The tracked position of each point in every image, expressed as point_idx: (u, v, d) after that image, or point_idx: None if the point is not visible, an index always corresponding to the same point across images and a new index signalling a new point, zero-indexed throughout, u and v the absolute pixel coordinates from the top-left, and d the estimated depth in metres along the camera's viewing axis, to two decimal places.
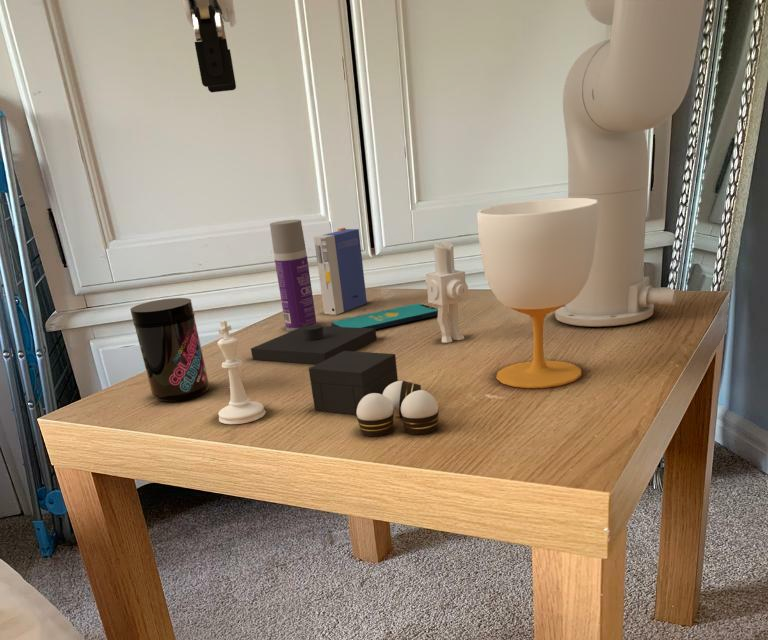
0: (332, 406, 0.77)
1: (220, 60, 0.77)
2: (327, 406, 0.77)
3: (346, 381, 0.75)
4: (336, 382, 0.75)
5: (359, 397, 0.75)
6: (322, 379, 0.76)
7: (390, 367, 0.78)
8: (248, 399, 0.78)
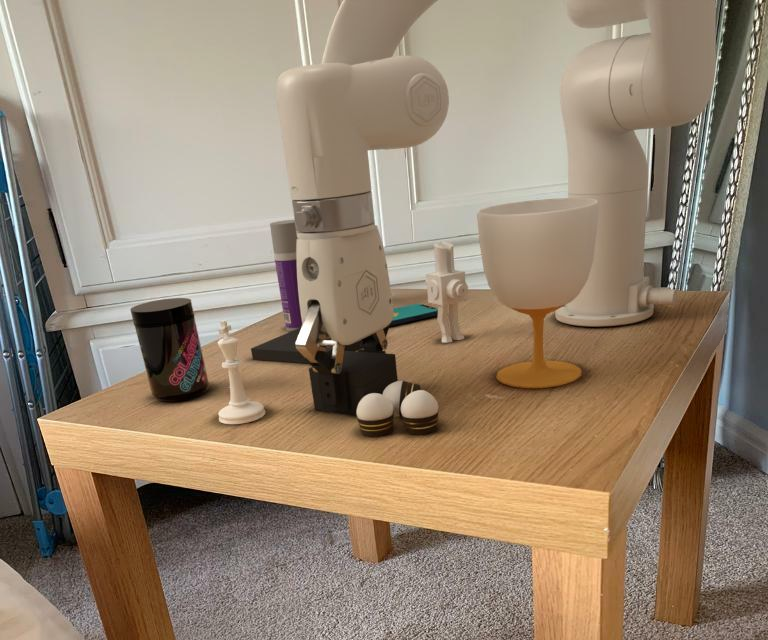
0: None
1: (334, 393, 0.74)
2: None
3: None
4: None
5: (359, 397, 0.75)
6: None
7: (390, 367, 0.78)
8: (248, 399, 0.78)
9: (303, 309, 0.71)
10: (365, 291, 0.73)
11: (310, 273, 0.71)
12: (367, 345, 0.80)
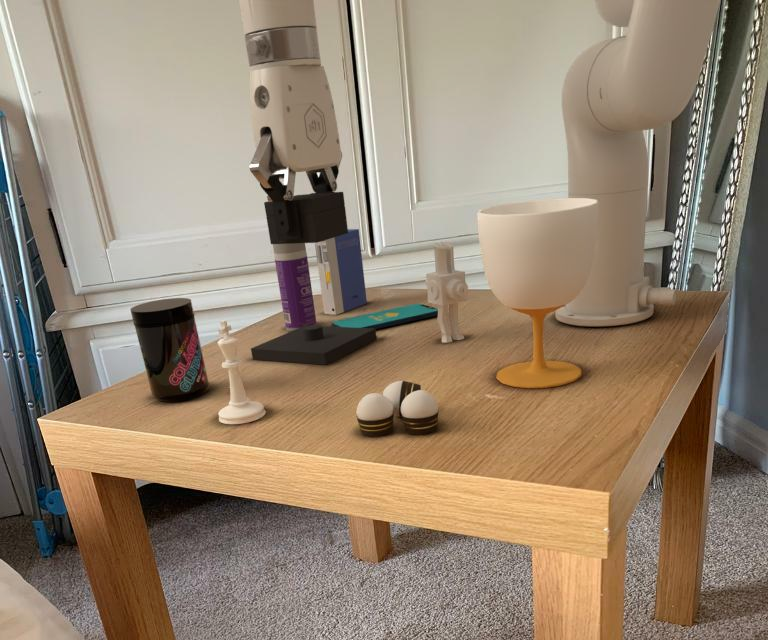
0: None
1: (287, 220, 0.82)
2: None
3: None
4: None
5: (309, 224, 0.82)
6: None
7: (338, 203, 0.85)
8: (248, 399, 0.78)
9: (256, 138, 0.79)
10: (313, 124, 0.80)
11: (262, 104, 0.78)
12: (318, 187, 0.87)
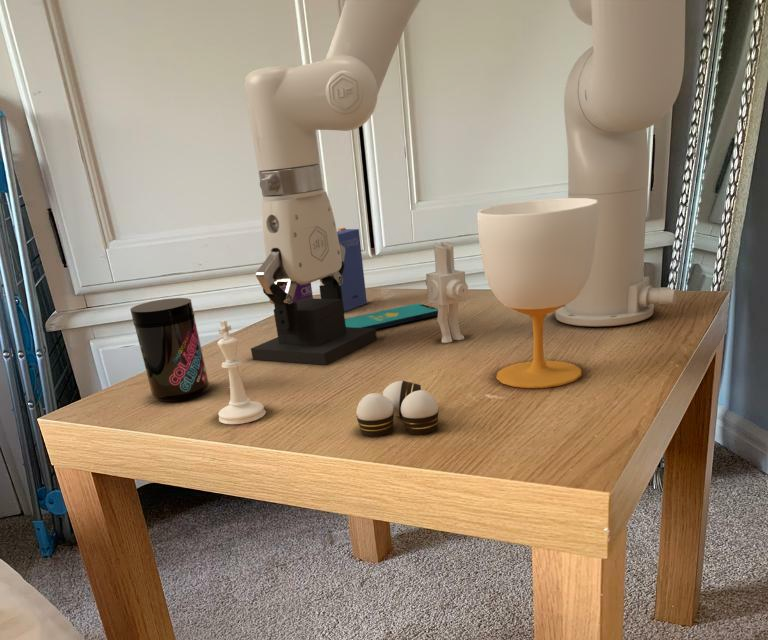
0: (292, 339, 0.98)
1: (287, 319, 0.94)
2: (288, 340, 0.98)
3: (302, 318, 0.96)
4: None
5: (312, 331, 0.96)
6: None
7: (338, 309, 0.99)
8: (248, 399, 0.78)
9: (268, 256, 0.92)
10: (317, 242, 0.93)
11: (273, 228, 0.91)
12: (327, 282, 1.01)
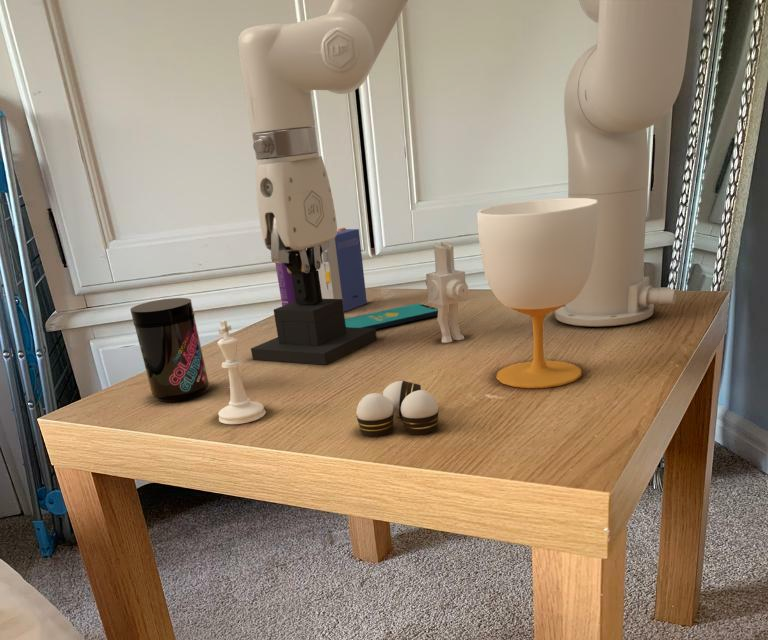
0: (292, 339, 0.98)
1: (304, 289, 0.96)
2: (288, 340, 0.98)
3: (302, 318, 0.96)
4: (294, 319, 0.96)
5: (312, 331, 0.96)
6: (284, 318, 0.97)
7: (338, 309, 0.99)
8: (248, 399, 0.78)
9: (262, 221, 0.90)
10: (312, 208, 0.91)
11: (267, 192, 0.89)
12: None
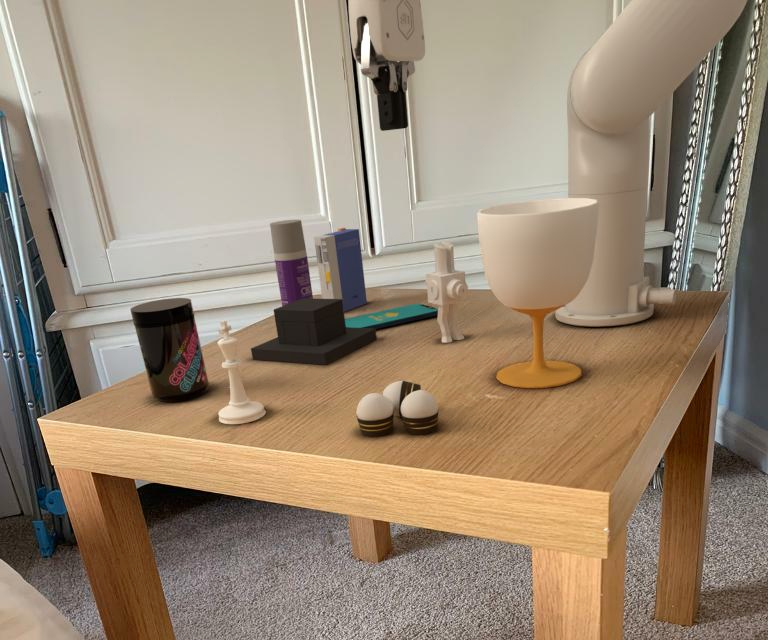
0: (292, 339, 0.98)
1: (391, 110, 0.92)
2: (288, 340, 0.98)
3: (302, 318, 0.96)
4: (294, 319, 0.96)
5: (312, 331, 0.96)
6: (284, 318, 0.97)
7: (338, 309, 0.99)
8: (248, 399, 0.78)
9: (352, 28, 0.86)
10: (404, 17, 0.88)
11: None
12: None
